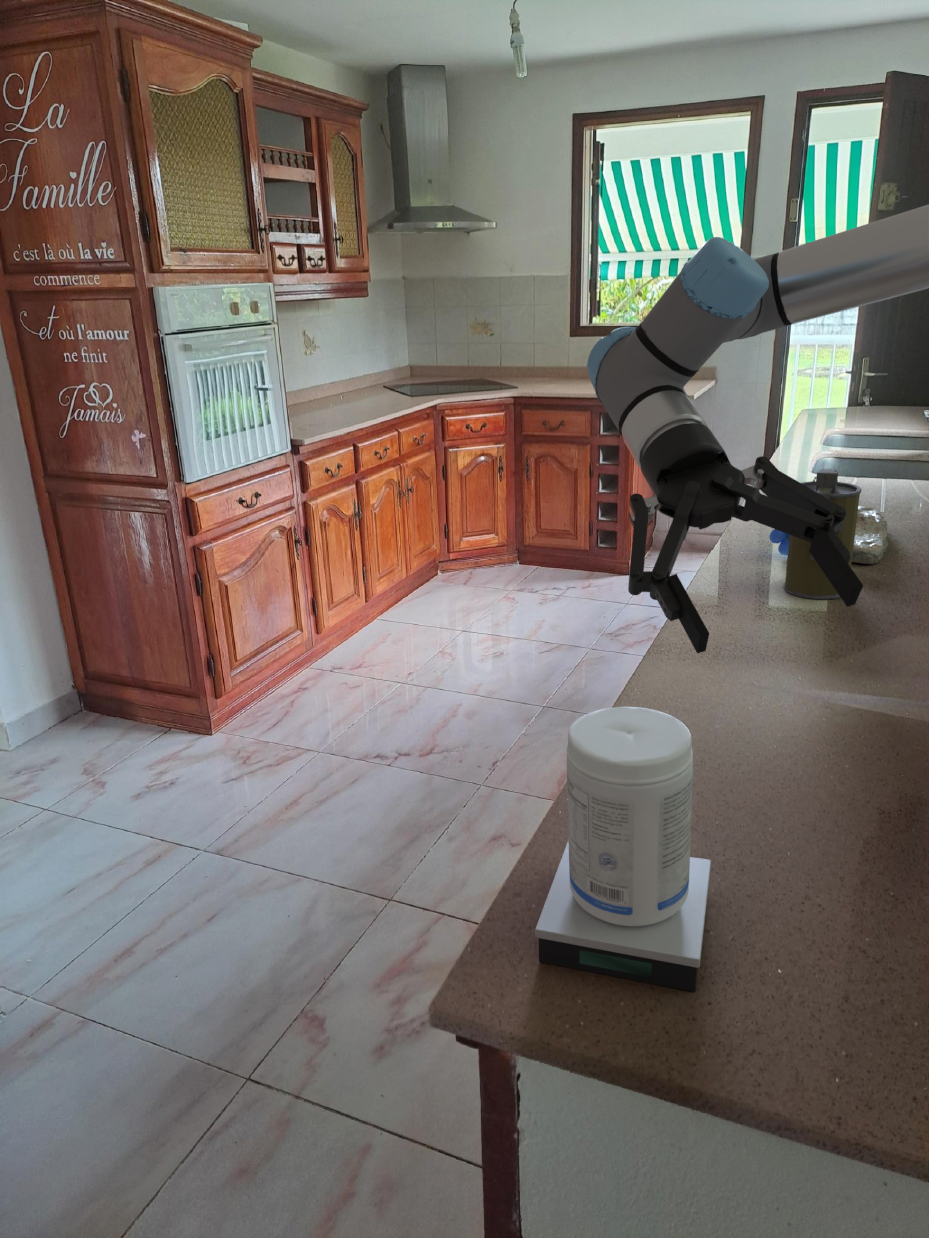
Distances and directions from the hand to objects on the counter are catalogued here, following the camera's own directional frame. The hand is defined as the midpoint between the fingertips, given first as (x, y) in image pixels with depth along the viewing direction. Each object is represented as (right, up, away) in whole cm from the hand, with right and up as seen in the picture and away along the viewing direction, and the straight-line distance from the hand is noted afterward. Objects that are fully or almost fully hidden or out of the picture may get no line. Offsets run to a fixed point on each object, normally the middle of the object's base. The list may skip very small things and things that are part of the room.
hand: (779, 620), depth 73 cm
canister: (+33, +5, +75) cm, 82 cm away
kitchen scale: (-13, -25, 0) cm, 28 cm away
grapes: (+37, +12, +93) cm, 101 cm away
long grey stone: (+52, +15, +101) cm, 114 cm away
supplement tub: (-13, -22, -1) cm, 26 cm away
